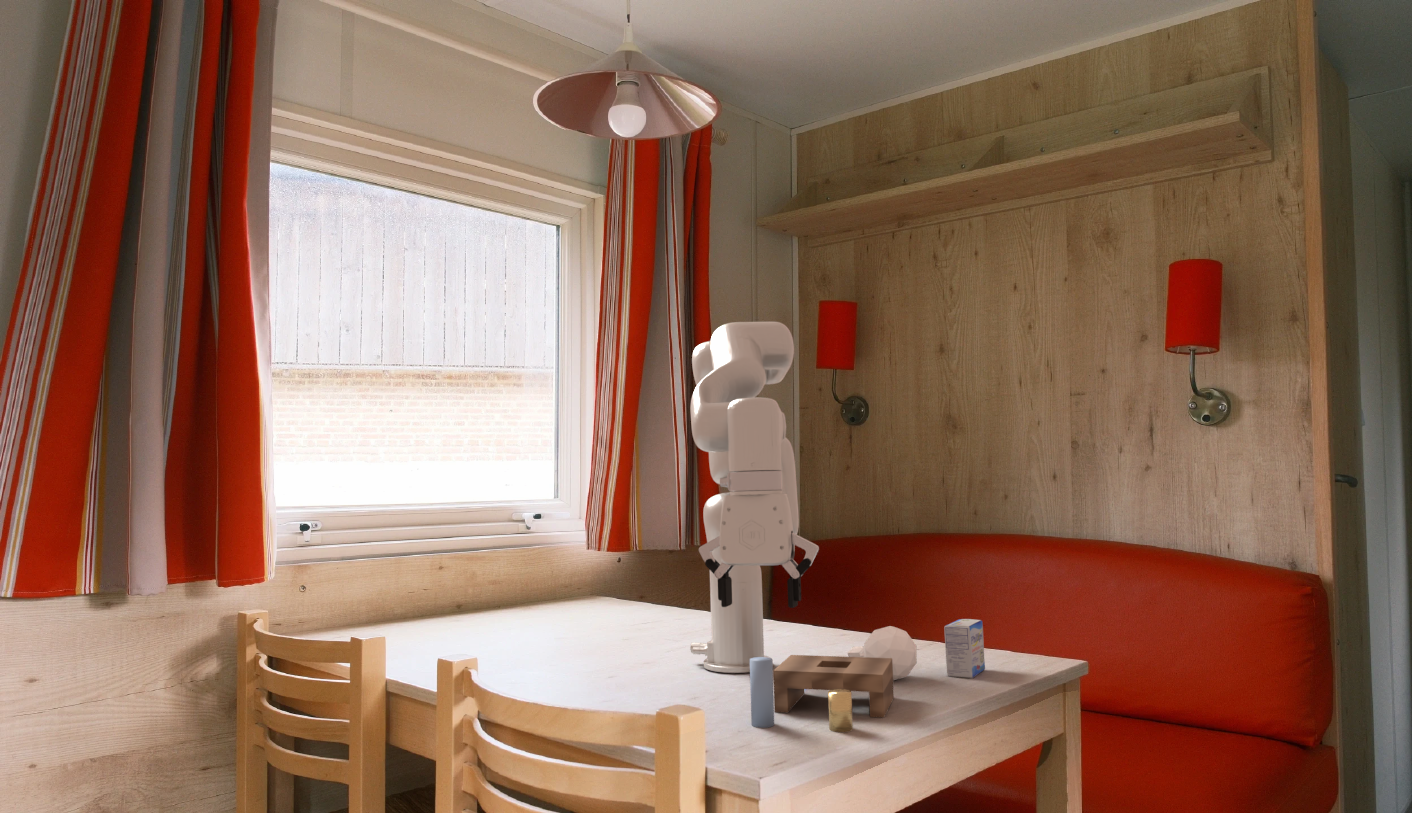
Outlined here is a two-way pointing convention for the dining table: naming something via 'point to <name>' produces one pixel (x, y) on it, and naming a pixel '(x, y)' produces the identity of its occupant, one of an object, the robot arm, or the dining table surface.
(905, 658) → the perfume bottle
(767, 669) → the long pin
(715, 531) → the robot arm
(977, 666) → the medicine box
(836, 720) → the short pin
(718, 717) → the dining table surface
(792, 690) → the hole board
